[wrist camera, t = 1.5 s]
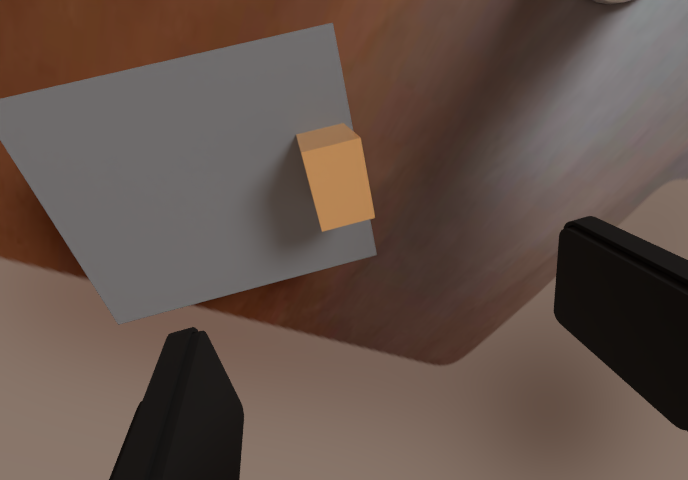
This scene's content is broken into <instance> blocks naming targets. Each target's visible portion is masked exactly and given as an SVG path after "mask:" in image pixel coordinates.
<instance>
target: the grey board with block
mask: <svg viewBox="0 0 688 480" xmlns="http://www.w3.org/2000/svg"><path fill="white" fill-rule="evenodd" d="M0 140H1V142H2V143H3V145H4V146H5V148H6V150H7V151H8V153H9V154H10V156H11V157H12V159H13V161H14V162H15V164H16V165H17V167H18V168H19V170H20V172H21V173H22V175H23V176H24V178H25V179H26V181H27V182H28V184H29V186H30V187H31V189H32V190H33V192H34V193H35V195H36V197H37V198H38V200H39V201H40V203H41V204H42V206H43V208H44V209H45V211H46V212H47V214H48V215H49V217H50V218H51V220H52V222H53V223H54V225H55V226H56V228H57V229H58V231H59V233H60V234H61V236H62V237H63V239H64V240H65V242H66V244H67V245H68V247H69V248H70V250H71V251H72V253H73V254H74V256H75V258H76V259H77V261H78V262H79V264H80V265H81V267H82V269H83V270H84V272H85V273H86V275H87V276H88V278H89V280H90V281H91V283H92V284H93V286H94V287H95V289H96V291H97V292H98V293H99V295H100V297H101V298H102V300H103V301H104V303H105V305H106V306H107V308H108V309H109V311H110V312H111V314H112V316H113V317H114V319H115V320H116V322H117V323H118V324H122V323H126V322H130V321H133V320H137V319H141V318H145V317H148V316H152V315H156V314H159V313H163V312H167V311H171V310H174V309H178V308H182V307H185V306H189V305H193V304H197V303H200V302H204V301H208V300H211V299H215V298H219V297H223V296H226V295H230V294H234V293H237V292H241V291H245V290H249V289H252V288H256V287H260V286H263V285H267V284H271V283H275V282H278V281H282V280H286V279H289V278H293V277H297V276H301V275H304V274H308V273H312V272H315V271H319V270H323V269H326V268H330V267H334V266H338V265H341V264H345V263H349V262H352V261H356V260H360V259H364V258H367V257H371V256H375V255H377V253H376V248H375V242H374V237H373V232H372V227H371V221H370V219H372V218H375V214H374V209H373V203H372V198H371V192H370V187H369V181H368V176H367V170H366V165H365V159H364V154H363V148H362V143H361V138H360V137H359V136H358V135H357V134H356V133H354V132H353V127H352V121H351V116H350V111H349V106H348V100H347V95H346V90H345V85H344V79H343V74H342V69H341V63H340V58H339V53H338V48H337V42H336V37H335V32H334V27H333V23H330V24H325V25H321V26H316V27H312V28H308V29H303V30H299V31H295V32H290V33H286V34H282V35H277V36H273V37H268V38H264V39H260V40H255V41H251V42H247V43H242V44H238V45H233V46H229V47H225V48H220V49H216V50H212V51H207V52H203V53H199V54H194V55H190V56H185V57H181V58H177V59H172V60H168V61H164V62H159V63H155V64H151V65H146V66H142V67H137V68H133V69H129V70H124V71H120V72H116V73H111V74H107V75H103V76H98V77H94V78H89V79H85V80H81V81H76V82H72V83H68V84H63V85H59V86H55V87H50V88H46V89H41V90H37V91H33V92H28V93H24V94H20V95H15V96H11V97H6V98H2V99H0Z"/></svg>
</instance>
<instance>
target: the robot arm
mask: <svg viewBox="0 0 688 480" xmlns="http://www.w3.org/2000/svg"><path fill="white" fill-rule="evenodd" d="M593 1H595V2H597V3H604V4H615V3H623V2H627V1H631V0H593ZM554 314H555V317H556V319H557V320H558V322H559V323H560V324H561V325H562V326H563V327H564V328H566V329H567V330H568V331H569V332H570V333H571V334H572V335H573V336H575V337H576V338H577V339H578V340H579V341H580V342H582V344H584V345H585V346H586V347H587V348H588V349H589V350H590V351H591V352H593V353H594V354H595V355H596V356H597V357H598V358H599V359H600V360H602V361H603V362H604V363H605V364H606V365H607V366H608V367H609V368H611V369H612V370H613V371H614V372H615V373H616V374H617V375H619V376H620V377H621V378H622V379H623V380H624V381H625V382H626V383H627V384H629V385H630V386H631V387H632V388H633V389H634V390H635V391H636V392H638V393H639V394H640V395H641V396H642V397H643V398H644V399H645V400H647V401H648V402H649V403H650V404H651V405H652V406H653V407H654V408H656V409H657V410H658V411H659V412H660V413H661V414H662V415H663V416H665V417H666V418H667V419H668V420H669V421H670V422H671V423H672V424H674V425H675V426H676V427H678V428H680V429H682V430H687V431H688V260H686V259H684V258H682V257H680V256H678V255H675V254H673V253H671V252H669V251H667V250H665V249H663V248H660V247H658V246H656V245H654V244H651V243H650V242H647V241H645V240H643V239H641V238H639V237H637V236H635V235H632V234H630V233H628V232H626V231H624V230H622V229H620V228H617V227H615V226H613V225H611V224H609V223H607V222H604V221H602V220H600V219H598V218H596V217H593V216H588V217H584V218H581V219H577V220H574V221H570V222H568V223H566V224H565V226H564V229H563V230H561V232H560V235H559V246H558V260H557V273H556V288H555V301H554ZM243 424H244V413H243V407H242V404H241V402H240V400H239V398H238V396H237V394H236V392H235V390H234V388H233V386H232V384H231V382H230V379H229V377H228V376H227V374H226V372H225V369H224V367H223V365H222V363H221V361H220V359H219V357H218V355H217V353H216V351H215V349H214V347H213V345H212V344H211V341H210V339H209V337H208V335H207V334H206V332H205V331H199V332H198V330H197V329H196V328H194V327H192V328H188V329H184V330H181V331H177V332H174V333H171V334H169V335H168V337H167V339H166V341H165V344H164V346H163V349H162V352H161V354H160V357H159V360H158V362H157V365H156V367H155V370H154V373H153V375H152V378H151V380H150V383H149V386H148V388H147V391H146V393H145V396H144V398H143V401H141V402H140V404H139V406H138V408H137V410H136V412H135V415H134V417H133V420H132V423H131V425H130V428H129V430H128V433H127V435H126V438H125V441H124V443H123V446H122V448H121V451H120V453H119V456H118V458H117V461H116V463H115V466H114V469H113V471H112V474H111V476H110V479H109V480H239V475H240V463H241V450H242V436H243Z"/></svg>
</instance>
